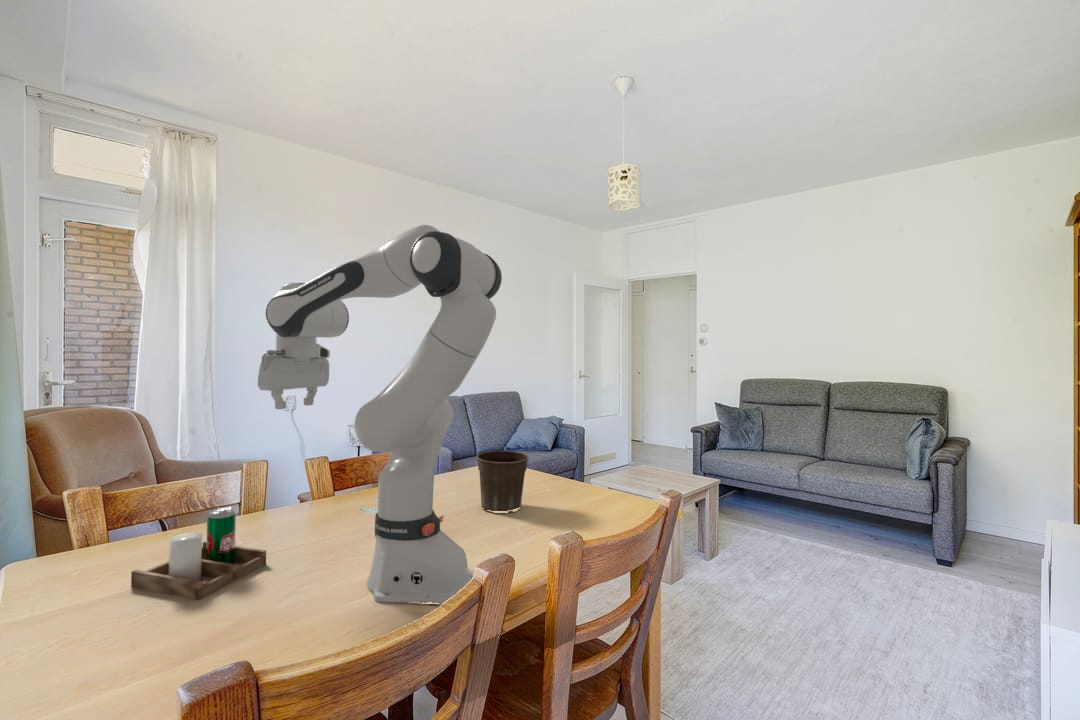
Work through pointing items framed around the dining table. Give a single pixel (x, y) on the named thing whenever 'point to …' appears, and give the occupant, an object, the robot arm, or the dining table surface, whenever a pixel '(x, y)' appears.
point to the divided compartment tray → (211, 575)
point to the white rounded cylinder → (186, 556)
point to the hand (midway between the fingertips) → (295, 407)
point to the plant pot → (501, 479)
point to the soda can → (221, 535)
